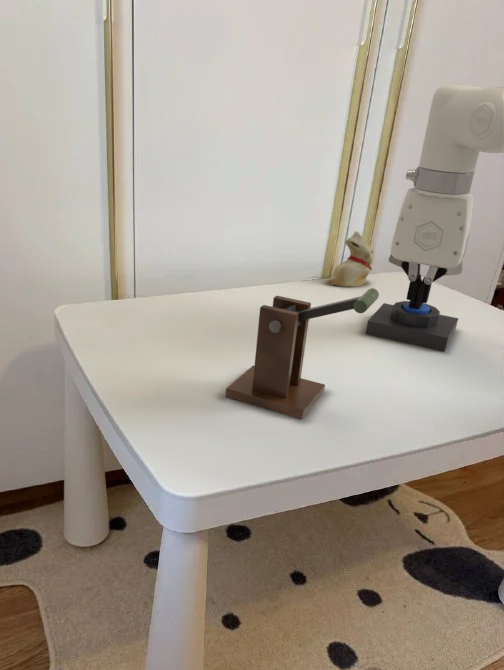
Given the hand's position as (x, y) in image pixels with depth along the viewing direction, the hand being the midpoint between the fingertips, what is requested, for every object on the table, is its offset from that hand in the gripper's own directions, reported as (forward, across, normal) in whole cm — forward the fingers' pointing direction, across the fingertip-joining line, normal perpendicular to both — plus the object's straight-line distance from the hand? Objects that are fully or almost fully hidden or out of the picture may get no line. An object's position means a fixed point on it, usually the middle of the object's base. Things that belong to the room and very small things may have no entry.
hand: (415, 305), depth 98 cm
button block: (+4, 0, 0) cm, 4 cm away
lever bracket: (+4, -10, -32) cm, 34 cm away
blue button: (+2, 0, 0) cm, 2 cm away
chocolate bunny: (+5, -16, +19) cm, 25 cm away
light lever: (-7, -5, -32) cm, 33 cm away
